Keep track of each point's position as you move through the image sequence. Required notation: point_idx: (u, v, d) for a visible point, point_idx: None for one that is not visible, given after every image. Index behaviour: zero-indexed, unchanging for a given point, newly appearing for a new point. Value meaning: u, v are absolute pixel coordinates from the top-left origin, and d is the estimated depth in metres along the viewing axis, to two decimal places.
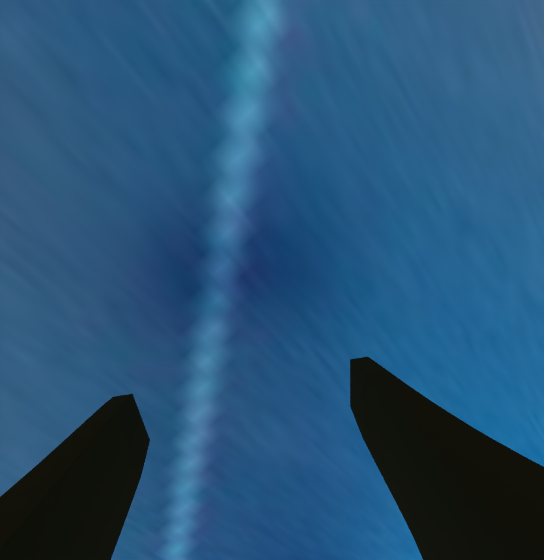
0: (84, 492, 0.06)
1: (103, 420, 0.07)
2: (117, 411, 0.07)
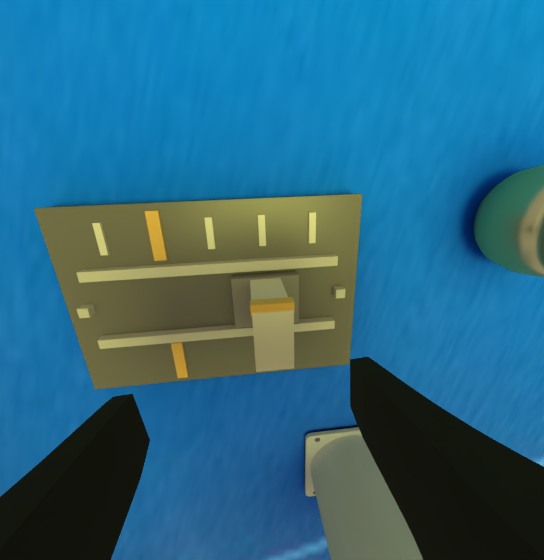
0: (84, 492, 0.06)
1: (103, 420, 0.07)
2: (117, 411, 0.07)
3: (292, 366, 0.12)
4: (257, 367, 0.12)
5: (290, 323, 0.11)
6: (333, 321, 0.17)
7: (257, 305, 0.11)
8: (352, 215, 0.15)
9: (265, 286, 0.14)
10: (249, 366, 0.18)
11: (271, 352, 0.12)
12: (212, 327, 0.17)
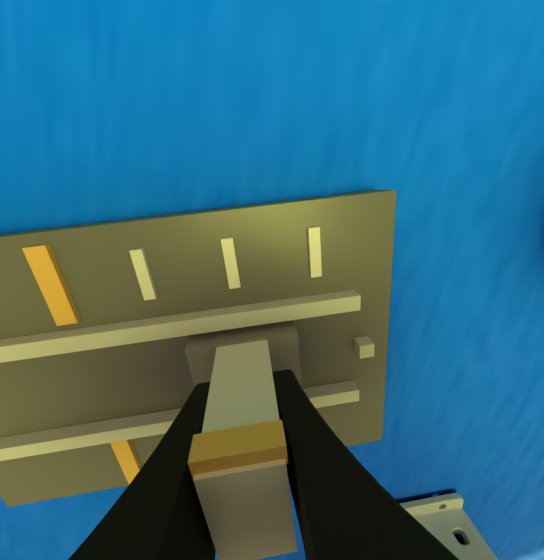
0: None
1: (203, 404, 0.07)
2: None
3: (293, 549, 0.06)
4: (222, 559, 0.06)
5: (282, 485, 0.05)
6: (357, 390, 0.11)
7: (204, 459, 0.05)
8: (381, 226, 0.09)
9: (239, 366, 0.08)
10: None
11: (247, 535, 0.06)
12: (170, 412, 0.11)
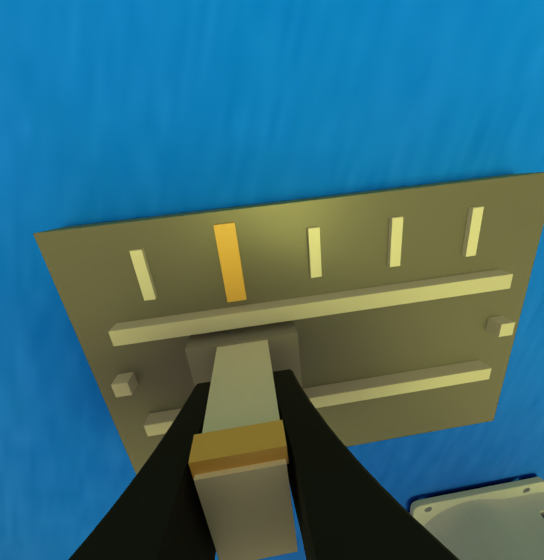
0: None
1: (203, 404, 0.07)
2: None
3: (293, 549, 0.06)
4: (222, 559, 0.06)
5: (282, 485, 0.05)
6: (488, 369, 0.11)
7: (205, 459, 0.05)
8: (535, 207, 0.10)
9: (239, 366, 0.08)
10: (355, 435, 0.13)
11: (248, 535, 0.06)
12: (309, 390, 0.11)
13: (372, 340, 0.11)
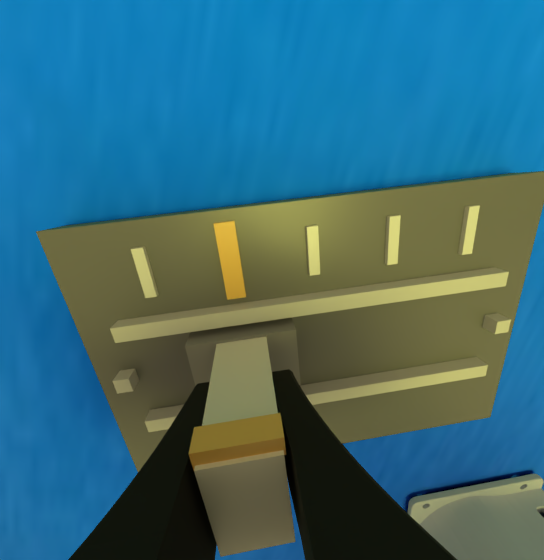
0: None
1: (203, 404, 0.07)
2: None
3: (291, 539, 0.06)
4: (222, 549, 0.06)
5: (280, 476, 0.05)
6: (485, 366, 0.11)
7: (205, 450, 0.05)
8: (530, 206, 0.10)
9: (238, 362, 0.08)
10: (354, 432, 0.13)
11: (247, 525, 0.06)
12: (308, 386, 0.11)
13: (370, 337, 0.11)
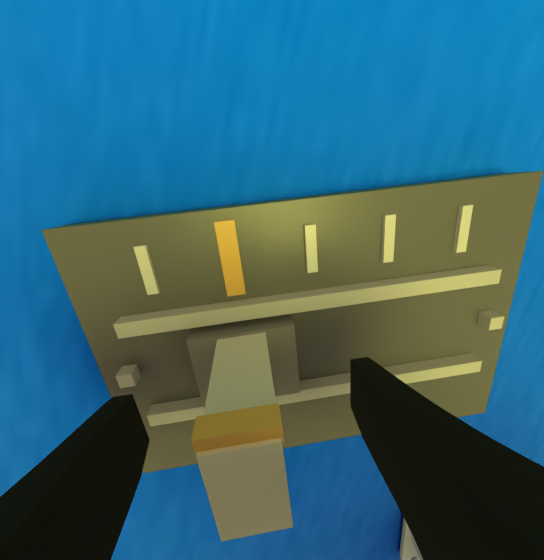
0: (84, 492, 0.06)
1: (103, 420, 0.07)
2: (117, 411, 0.07)
3: (289, 525, 0.06)
4: (223, 534, 0.06)
5: (278, 462, 0.06)
6: (479, 361, 0.12)
7: (206, 437, 0.05)
8: (523, 205, 0.10)
9: (238, 356, 0.08)
10: (351, 426, 0.13)
11: (246, 510, 0.06)
12: (306, 382, 0.12)
13: (367, 333, 0.11)
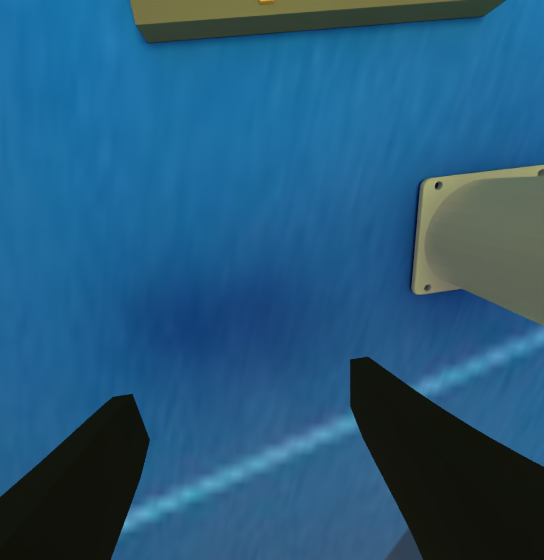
0: (84, 492, 0.06)
1: (103, 420, 0.07)
2: (117, 411, 0.07)
3: None
4: None
5: None
6: None
7: None
8: None
9: None
10: None
11: None
12: None
13: None
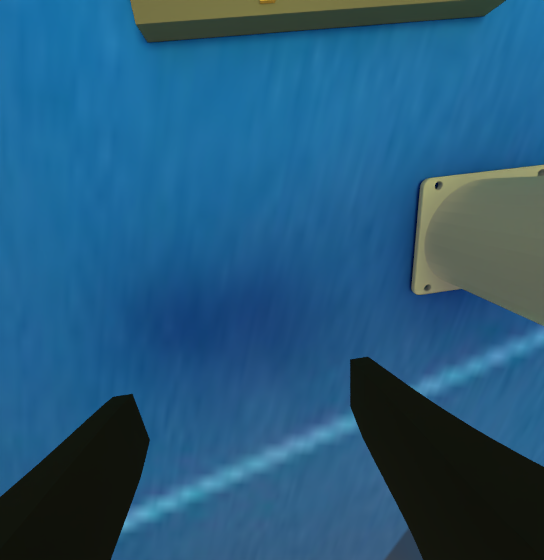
0: (84, 492, 0.06)
1: (103, 420, 0.07)
2: (117, 411, 0.07)
3: None
4: None
5: None
6: None
7: None
8: None
9: None
10: None
11: None
12: None
13: None
